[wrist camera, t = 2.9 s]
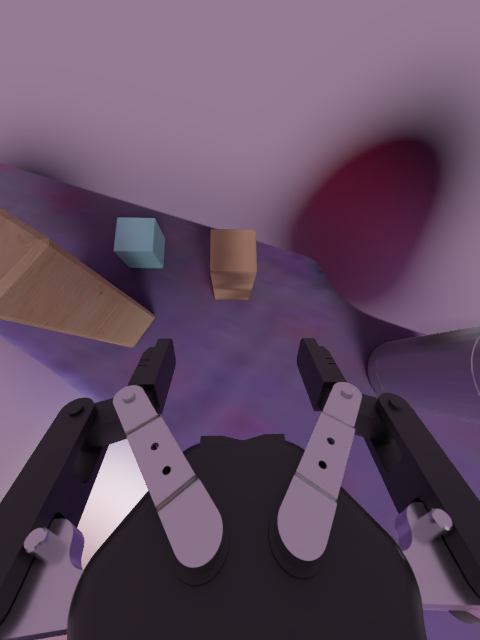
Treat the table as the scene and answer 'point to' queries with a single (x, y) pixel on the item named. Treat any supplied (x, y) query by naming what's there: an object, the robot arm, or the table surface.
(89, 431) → the robot arm
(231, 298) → the tan long block
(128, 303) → the decorative block
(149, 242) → the teal cube
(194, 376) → the table surface
